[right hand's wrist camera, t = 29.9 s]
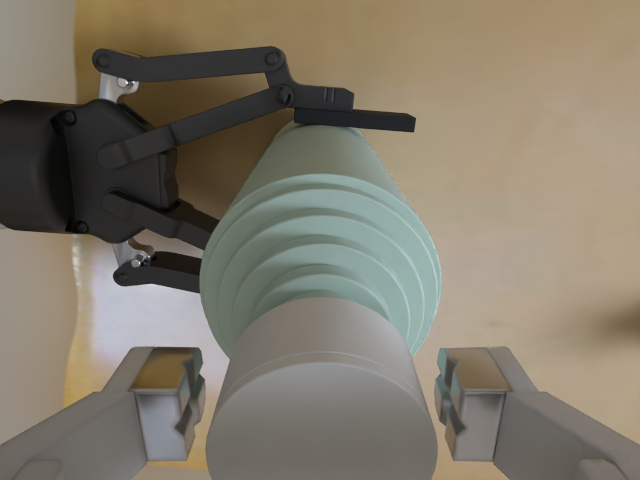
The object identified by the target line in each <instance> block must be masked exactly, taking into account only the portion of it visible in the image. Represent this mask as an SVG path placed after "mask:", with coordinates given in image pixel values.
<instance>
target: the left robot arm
mask: <svg viewBox="0 0 640 480" xmlns="http://www.w3.org/2000/svg"><path fill="white" fill-rule="evenodd" d="M92 60H93V64H94V66H95V68H96V69H97V70H98V71H100V72H101V73H100V84H99V95H98V99H94V100H92V101H90V102H88V103H86V104H84V105H77V104H64V103H51V102H38V101H26V100H10V101H3V100H1V99H0V229H5V228H10V229H13V230H19V231H33V232H47V233H62V234H90V235H93V236H96V237H98V238H100V239H102V240H104V241H105V242H108V243H112V245H113V249H114V252H115V255H116V259H117V262H118V265H119V268H118V269H117V270H116V271H115V272H114V274H113V279H114V281H115V282H116V283H117V284H118V285H120V286H133V285H143V284H157V285H162V286H166V287H171V288H176V289H181V290H186V291H190V292H195V293H200V269H201V262H202V259H201V258H196V257H191V256H187V255H182V254H177V253H172V252H164V251H156V252H154V248H153V247H152V246H150V245H142V244H139V243H138V242H136V241H135V239H134V237H133V236H135V235H137V234H138V233H140V232H141V231H143V230H145V229H146V228H147V229H149V230H151V231H153V232H156V233H158V234H160V235H162V236H164V237H167V238H178V239H180V240H183V241H185V242H187V243H189V244H191V245H194V246H196V247H198V248H200V249H202V250H205V248H206V245H207V243H208V241H209V239H210V237H211V235H212V233H213V231H214V229H215V228H216V226H217V225H218V223H219V222H220V220H218V219H215V218H213V217H211V216H209V215H207V214H205V213H203V212H200V211H198V210H196V209H195V208H194V207H193V205H191V204H190V203H188V202H186V201H184V200H182V199H180V198H179V196H178V184H177V181H176V178H175V175H174V173H175V168H176V164H177V149H174V147H176V146H179V145H181V144H184V143H187V142H190V141H192V140H195V139H198V138H201V137H204V136H207V135H210V134H212V133H215V132H218V131H221V130H224V129H227V128H230V127H232V126H235V125H238V124H241V123H244V122H247V121H250V120H252V119H255V118H258V117H261V116H264V115H267V114H270V113H272V112H275V111H278V110H281V109H284V108H285V109H286V108H295V111H294V123H300V124H313V125H326V126H339V127H352V128H365V129H377V130H390V131H403V132H414V128H415V121H416V118H415V117H413V116H411V115H409V114H407V113H394V112H381V111H369V110H356V109H353V100H354V93H352V92H350V91H349V90H347V89H345V88H337V87H324V86H312V85H302V84H299V83H297V82H295V81H294V80H293V78H292V77H291V74H290V71H289V68H288V64H287V61H286V56H285V54H284V53H283V51H281V50H280V49H278V48H276V47H271V46H269V47H258V48H246V49H235V50H224V51H213V52H202V53H191V54H180V55H168V56H157V57H144V56H141V55H137V54H134V53H130V52H127V51H121V50H112V49H98V50H96V51H95V52H94V54H93V57H92ZM264 72H265V75H266V78H267V82H268V85H269V89H266V90H263V91H260V92H258V93H255V94H252V95H249V96H246V97H244V98H241V99H238V100H235V101H232V102H230V103H227V104H224V105H221V106H218V107H216V108H213V109H210V110H207V111H204V112H202V113H199V114H196V115H193V116H190V117H188V118H185V119H182V120H179V121H176V122H174V123H171V124H168V125H165V126H162V127H160V128H155V127H154V126H153V125H152V124H150V123H149V122H148V121H147V120H145V119H144V118H143V117H141V116H140V115H139V114H138V113H136V112H135V111H134V110H132V109H131V108H130V107H129V106H127V105H126V104H125V103H123V100H124V97H125V96H126V95H127V94H132V93H138V92H140V91H142V90H143V88H144V86H145V82H160V81H173V80H184V79H195V78H207V77H218V76H230V75H241V74H252V73H264Z"/></svg>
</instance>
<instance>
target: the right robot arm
mask: <svg viewBox="0 0 640 480" xmlns="http://www.w3.org/2000/svg"><path fill="white" fill-rule="evenodd" d="M202 364H203V361H202V354H201V350H200V349H199V348H194V347H134V348H131V349H130V350H129V352H128V353H127V355H126V356H125V358H124V359H123V361H122V362H121V363H120V365H119V366H118V368H117V369H116V371H115V372H114V374H113V375H112V377H111V378H110V379H109V381H108V382H107V384H106V385H105V387H104V388H103V390H102V391H101V392H93V393H91V394H90V395H88V396H86V397H84V398H82V399H81V400H79V401H77V402H75V403H74V404H72V405H70V406H68V407H67V408H65V409H63V410H61V411H60V412H58V413H56V414H54V415H52V416H51V417H49V418H47V419H45V420H44V421H42V422H40V423H38V424H37V425H35V426H33V427H31V428H29V429H28V430H26V431H24V432H22V433H21V434H19V435H17V436H15V437H13V438H12V439H10V440H8V441H6V442H5V443H3V444H1V445H0V480H130V479H132V478H133V477H134V476H135V475H136V474H137V473H138V472H139V471H140V470H141V469H142V468H143V467H144V466H145V465H146V464H147V463H146V462H160V461H187V458H188V456H189V453H190V450H191V447H192V444H193V441H194V438H195V431H194V426H195V425H196V424H197V423H199V422H200V421H201V418H202V414H203V411H204V405H205V379H204V378H203V377H202V376H201V375H200V374H199V372H200V369H201V367H202ZM437 364H438V367H439V369H440V372H441V374H440V375H439V376H438V377H437V378H436V379H435V391H434V392H435V406H436V410H437V414H438V417H439V421H440V422H441V423H443V424H444V425H445V426H446V431H445V438H446V441H447V444H448V447H449V450H450V452H451V455H452V458H453V461H479V462H494V463H493V464H494V465H495V466H496V467H497V468H498V469H499V470H500V471H501V472H502V473H504V474H505V475H506V476H507V477H508V478H509V479H510V480H640V445H639V444H637V443H635V442H633V441H632V440H630V439H628V438H626V437H625V436H623V435H621V434H619V433H618V432H616V431H614V430H612V429H610V428H609V427H607V426H605V425H603V424H602V423H600V422H598V421H596V420H595V419H593V418H591V417H589V416H588V415H586V414H584V413H582V412H580V411H579V410H577V409H575V408H573V407H572V406H570V405H568V404H566V403H565V402H563V401H561V400H559V399H558V398H556V397H554V396H552V395H550V394H549V393H547V392H539V391H538V390H537V388H536V387H535V385H534V384H533V382H532V381H531V380H530V378H529V377H528V375H527V374H526V372H525V371H524V369H523V368H522V367H521V365H520V364H519V362H518V361H517V359H516V358H515V357H514V355H513V354H512V352H511V351H510V349H509V348H507V347H505V346H500V347H482V348H440V351H439V354H438V361H437Z"/></svg>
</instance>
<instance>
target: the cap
mask: <svg viewBox="0 0 640 480" xmlns="http://www.w3.org/2000/svg"><path fill="white" fill-rule="evenodd" d="M437 450H438V444H437V438H436V432H435V429H434V426H433V423H432V420H431V417H430V414H429V411H428V408H427V404H426V401H425V398H424V395H423V392H422V389H421V386H420V383H419V380H418V376H417V373H416V370H415V367H414V364H413V361H412V358H411V355H410V352H409V349H408V347H407V345H406V343H405V341H404V339H403V337H402V336H401V335H400V333H399V332H398V331H397V329H396V328H395V327H394V326H393V325H392V324H391V323H390V322H389V321H388V320H386V319H385V318H384V317H382V316H381V315H380V314H378V313H377V312H375V311H373V310H371V309H370V308H368V307H365V306H363V305H361V304H358V303H355V302H352V301H348V300H345V299H338V298H331V297H313V298H304V299H299V300H294V301H291V302H288V303H285V304H282V305H280V306H277V307H275V308H273V309H271V310H269V311H268V312H266V313H265V314H263V315H261V316H260V317H259V318H258V319H256V320H255V321H254V322H253V323H252V324H251V325H250V326H249V327H248V328H247V329H246V330H245V331H244V332H243V334H242V335H241V337H240V338H239V340H238V341H237V344H236V346H235V348H234V350H233V353H232V356H231V359H230V363H229V366H228V369H227V372H226V376H225V379H224V382H223V385H222V389H221V392H220V395H219V399H218V402H217V405H216V408H215V412H214V415H213V418H212V422H211V425H210V428H209V432H208V435H207V441H206V461H207V465H208V470H209V473H210V476H211V478H212V480H431V479H432V476H433V473H434V470H435V467H436V461H437Z"/></svg>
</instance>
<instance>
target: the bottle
mask: <svg viewBox="0 0 640 480" xmlns="http://www.w3.org/2000/svg"><path fill="white" fill-rule="evenodd" d="M441 282H442V281H441V267H440V263H439V258H438V254H437V251H436V248H435V246H434V243H433V240H432V238H431V237H430V235H429V233H428V231H427V229H426V228H425V226H424V224H423V223H422V221H421V220H420V218H419V217H418V216H417V214H416V213H415V211H414V210H413V208H412V207H411V205H410V204H409V202H408V201H407V199H406V198H405V196H404V195H403V193H402V192H401V190H400V189H399V187H398V186H397V184H396V183H395V182H394V180H393V179H392V177H391V176H390V174H389V173H388V171H387V170H386V168H385V167H384V165H383V164H382V162H381V161H380V159H379V158H378V156H377V155H376V153H375V152H374V150H373V149H372V147H371V146H370V145H369V143H368V142H367V140H366V139H365V137H364V136H363V134H362V133H361V132H360V131H359V130H358V129H357V128H352V127H339V126H326V125H313V124H300V123H294V120H292V121H291V122H289V123H287V124H286V125H285V126H284V127H283V128H282V129H281V130H280V131H279V132H278V133H277V135H276V136H275V138H274V139H273V141H272V142H271V144H270V145H269V147H268V148H267V150H266V151H265V153H264V154H263V156H262V157H261V159H260V160H259V162H258V164H257V165H256V167H255V168H254V170H253V171H252V173H251V174H250V176H249V177H248V179H247V180H246V182H245V183H244V185H243V187H242V188H241V190H240V191H239V193H238V194H237V196H236V197H235V199H234V200H233V202H232V203H231V205H230V206H229V208H228V209H227V211H226V213H225V214H224V216H223V217H222V219H221V220H220V222H219V223H218V225H217V226H216V228H215V229H214V231H213V233H212V235H211V237H210V239H209V241H208V243H207V245H206V248H205V251H204V254H203V258H202V262H201V269H200V295H201V302H202V306H203V309H204V313H205V316H206V318H207V320H208V324H209V327H210V329H211V331H212V333H213V335H214V338H215V339H216V341H217V343H218V344H219V346H220V347H221V349H222V350H223V352H224V353H225V354H226V355H227V356H228V358H229V359H231V356H232V353H233V350H234V348H235V346H236V344H237V341H238V340H239V338H240V337H241V335H242V334H243V332H244V331H245V330H246V329H247V328H248V327H249V326H250V325H251V324H252V323H253V322H254V321H255V320H256V319H258V318H259V317H260V316H261V315H263V314H265V313H266V312H268V311H269V310H271V309H273V308H275V307H277V306H280V305H282V304H285V303H288V302H291V301H294V300H299V299H304V298H313V297H331V298H338V299H345V300H348V301H352V302H355V303H358V304H361V305H363V306H365V307H368V308H370V309H371V310H373V311H375V312H377V313H378V314H380V315H381V316H382V317H384V318H385V319H386V320H388V321H389V322H390V323H391V324H392V325H393V326H394V327H395V328H396V329H397V331H398V332H399V333H400V335H401V336H402V337H403V339H404V341H405V343H406V345H407V347H408V349H409V352H410V355H411V358H412V357H413V356H414V355H415V354H416V353H417V351H418V350H419V348H420V347H421V346H422V344H423V343H424V341H425V339H426V337H427V335H428V333H429V331H430V328H431V326H432V323H433V321H434V317H435V315H436V312H437V309H438V305H439V300H440V295H441Z"/></svg>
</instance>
